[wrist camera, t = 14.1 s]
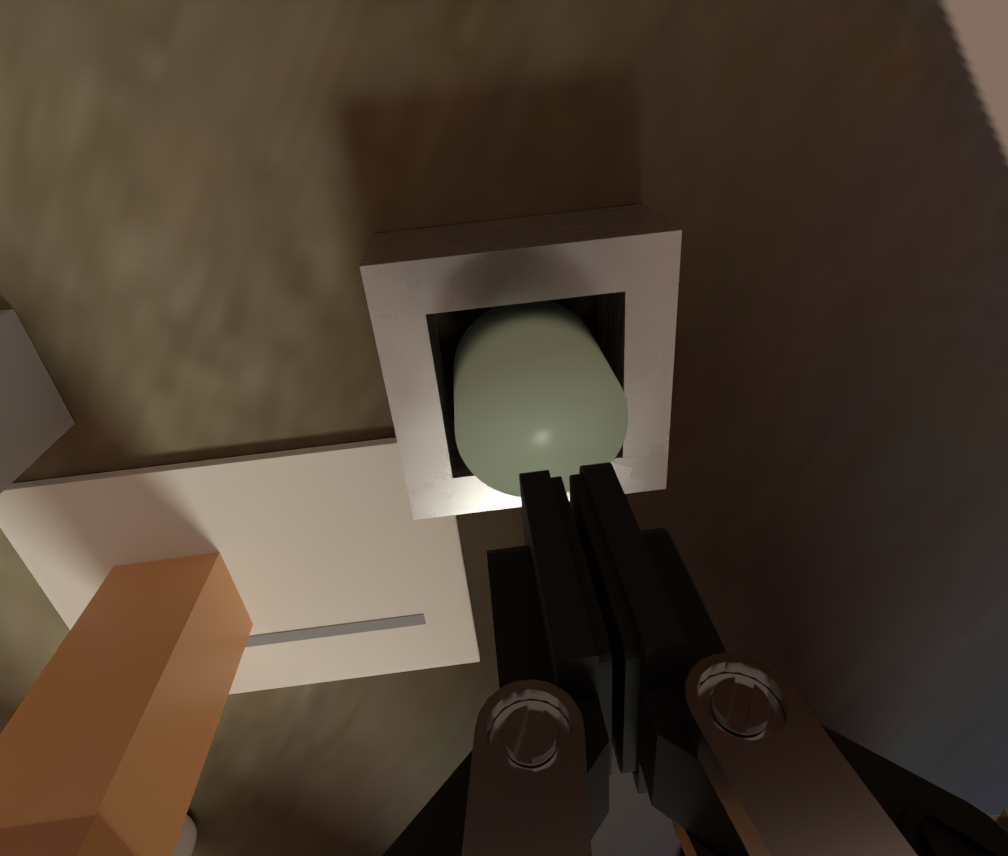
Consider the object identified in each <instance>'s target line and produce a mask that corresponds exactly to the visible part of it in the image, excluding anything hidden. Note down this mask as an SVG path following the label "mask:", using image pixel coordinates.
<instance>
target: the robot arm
mask: <svg viewBox="0 0 1008 856" xmlns="http://www.w3.org/2000/svg"><path fill="white" fill-rule="evenodd" d="M519 482H520V493H521V503H522V514H523V525H524V535H525V546H519V547H512V548H504V549H496V550H489V551H487V558H488V569H489V579H490V590H491V601H492V611H493V622H494V633H495V643H496V654H497V665H498V675H499V686H500V689H498V690H497V691H496V692H495V693H494V694H493V695H491V696H490V697H489V698H488V699H487V701H486V702H485V704H484V705H483V707H482V708H481V710H480V712H479V715H478V718H477V722H476V726H475V732H474V742H473V750H472V751H471V752H470V754H469V755H468V756H467V757H466V758H465V759H464V761H463V762H462V763H461V764H460V765H459V766H458V768H457V769H456V770H455V771H454V772H453V774H452V775H451V776H450V777H449V778H448V779H447V781H446V782H445V783H444V784H443V785H442V786H441V788H440V789H439V790H438V791H437V792H436V794H435V795H434V796H433V797H432V798H431V799H430V801H429V802H428V803H427V804H426V805H425V806H424V808H423V809H422V810H421V811H420V812H419V814H418V815H417V816H416V817H415V818H414V819H413V821H412V822H411V823H410V824H409V825H408V826H407V828H406V829H405V830H404V831H403V832H402V834H401V835H400V836H399V837H398V838H397V839H396V841H395V842H394V843H393V844H392V845H391V846H390V848H389V849H388V850H387V851H386V852H385V854H384V855H383V856H592V847H591V839H592V838H593V836H594V834H595V833H596V831H597V829H598V828H599V826H600V825H601V823H602V821H603V820H604V818H605V817H606V815H607V813H608V812H609V775H611V750H612V743H613V747H614V751H615V755H616V759H617V763H618V766H619V769H620V772H621V773H627V772H632V773H633V777H634V780H635V784H636V788H637V791H638V793H645V792H648V794H649V797H650V801H651V804H652V806H654V807H655V808H656V809H658V810H659V811H661V812H662V813H663V814H665V815H666V816H668V817H669V818H670V819H672V823H673V826H674V829H675V833H676V836H677V838H678V840H679V842H680V844H681V847H682V849H683V851H684V853H685V856H1008V809H1004V811H1003V812H1002V814H1001V815H1000V816H998V815H989V814H985V813H983V812H982V811H980V810H979V809H977V808H976V807H974V806H973V805H971V804H970V803H968V802H966V801H964V800H962V799H961V798H959V797H957V796H955V795H953V794H951V793H949V792H947V791H945V790H944V789H942V788H940V787H938V786H936V785H934V784H932V783H930V782H928V781H927V780H925V779H923V778H921V777H919V776H917V775H915V774H913V773H912V772H910V771H908V770H906V769H904V768H902V767H900V766H898V765H896V764H895V763H893V762H891V761H889V760H887V759H885V758H883V757H881V756H879V755H878V754H876V753H874V752H872V751H870V750H868V749H866V748H864V747H862V746H861V745H859V744H857V743H855V742H853V741H851V740H849V739H847V738H845V737H844V736H842V735H840V734H838V733H836V732H834V731H832V730H830V729H828V728H827V727H825V726H823V725H821V724H819V722H818V721H817V720H816V718H815V717H814V716H813V714H812V713H811V712H810V710H809V709H808V708H807V706H806V705H805V704H804V702H803V701H802V700H801V698H800V697H799V696H798V694H797V693H796V691H795V690H794V689H793V687H792V686H791V685H790V684H789V683H788V682H787V680H786V679H785V678H784V677H783V676H782V675H781V674H780V673H779V672H778V671H777V670H775V669H774V668H772V667H771V666H769V665H767V664H766V663H764V662H763V661H761V660H758V659H756V658H753V657H750V656H748V655H744V654H737V653H729V652H728V653H727V652H726V650H725V648H724V646H723V644H722V642H721V640H720V638H719V636H718V634H717V632H716V630H715V628H714V625H713V623H712V621H711V619H710V617H709V615H708V613H707V611H706V609H705V607H704V605H703V603H702V601H701V599H700V597H699V595H698V592H697V590H696V588H695V586H694V584H693V582H692V580H691V578H690V576H689V574H688V572H687V570H686V568H685V566H684V564H683V561H682V559H681V557H680V555H679V553H678V551H677V549H676V547H675V545H674V543H673V541H672V539H671V537H670V535H669V533H668V532H667V530H665V529H664V528H658V529H651V530H643V531H640V529H639V527H638V524H637V522H636V519H635V517H634V515H633V512H632V510H631V508H630V505H629V503H628V501H627V498H626V496H625V494H624V491H623V489H622V487H621V484H620V482H619V480H618V477H617V475H616V473H615V470H614V468H613V466H612V464H611V463H610V462H606V463H598V464H590V465H582V466H580V469H579V474H574V475H570V477H569V485H570V504H569V500H568V497H567V494H566V490H565V487H564V483H563V480H562V477H561V476H558V477H551V476H550V472H549V470H543V471H535V472H527V473H519Z"/></svg>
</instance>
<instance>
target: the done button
mask: <svg viewBox="0 0 1008 856" xmlns="http://www.w3.org/2000/svg"><path fill="white" fill-rule="evenodd" d="M453 382H454V424H455V439H456V443H457V448H458V450H459V453H460V455H461V458H462V459H463V461H464V463H465V464H466V466H467V467H468V468H469V470H470V471H471V472H472V473H473V474H474V475H475V476H476V477H477V478H478V479H479V480H480V481H482V482H483V483H485V484H486V485H487V486H489V487H491V488H493V489H495V490H497V491H500V492H502V493H505V494H508V495H512V496H516V497H521V493H520V482H519V473H527V472H535V471H543V470H549V472H550V476H551V477H558V476H561V477H562V480H563V483H564V487H565V490H566V493H568V492H570V485H569V477H570V475H574V474H579V469H580V466H582V465H590V464H598V463H606V462H610V463H612V461H613V460H614V458H615V457H616V456H617V454H618V452H619V451H620V449H621V447H622V445H623V442H624V439H625V437H626V433H627V429H628V419H629V415H628V405H627V400H626V397H625V394H624V392H623V389H622V387H621V385H620V384H619V382H618V380H617V378H616V376H615V375H614V373H613V371H612V369H611V368H610V366H609V364H608V362H607V360H606V359H605V357H604V355H603V353H602V352H601V350H600V348H599V346H598V344H597V343H596V341H595V339H594V337H593V335H592V334H591V332H590V330H589V328H588V327H587V326H586V324H585V323H584V322H583V321H582V320H581V319H580V318H579V317H578V316H577V315H576V314H575V313H573V312H572V311H570V310H569V309H567V308H565V307H563V306H562V305H560V304H557V303H554V302H551V301H547V300H546V301H538V302H529V303H520V304H512V305H503V306H495V307H493V308H491V309H490V310H488V311H486V312H485V313H483V314H482V315H481V316H480V317H478V318H477V319H476V320H475V321H474V322H473V323H472V324H471V325H470V326H469V327H468V329H467V330H466V332H465V333H464V334H463V336H462V338H461V340H460V342H459V344H458V347H457V349H456V352H455V357H454V365H453Z"/></svg>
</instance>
